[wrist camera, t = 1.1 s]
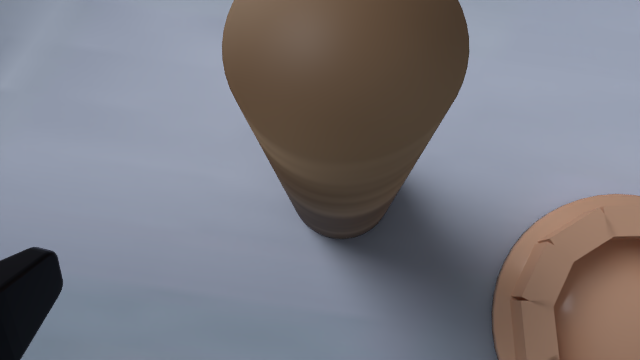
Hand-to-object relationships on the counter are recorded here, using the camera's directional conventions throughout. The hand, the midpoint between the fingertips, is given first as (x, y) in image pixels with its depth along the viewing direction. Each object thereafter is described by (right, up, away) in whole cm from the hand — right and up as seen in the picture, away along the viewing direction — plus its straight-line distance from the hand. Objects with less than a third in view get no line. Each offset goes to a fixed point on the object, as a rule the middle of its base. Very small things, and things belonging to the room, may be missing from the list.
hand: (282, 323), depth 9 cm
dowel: (+2, +2, +12) cm, 13 cm away
